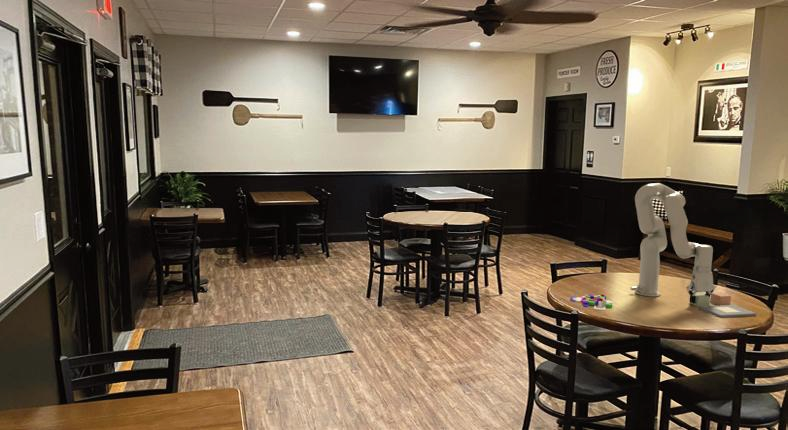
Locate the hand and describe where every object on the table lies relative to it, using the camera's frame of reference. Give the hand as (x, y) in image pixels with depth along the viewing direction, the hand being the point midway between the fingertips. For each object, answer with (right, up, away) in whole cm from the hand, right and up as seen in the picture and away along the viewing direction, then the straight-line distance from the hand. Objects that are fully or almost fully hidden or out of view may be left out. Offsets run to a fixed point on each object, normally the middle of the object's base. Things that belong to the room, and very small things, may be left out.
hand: (699, 302), depth 291 cm
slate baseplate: (+7, -3, -12) cm, 14 cm away
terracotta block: (+12, -1, +3) cm, 12 cm away
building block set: (-55, -1, 0) cm, 55 cm away
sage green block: (0, -1, 0) cm, 1 cm away
